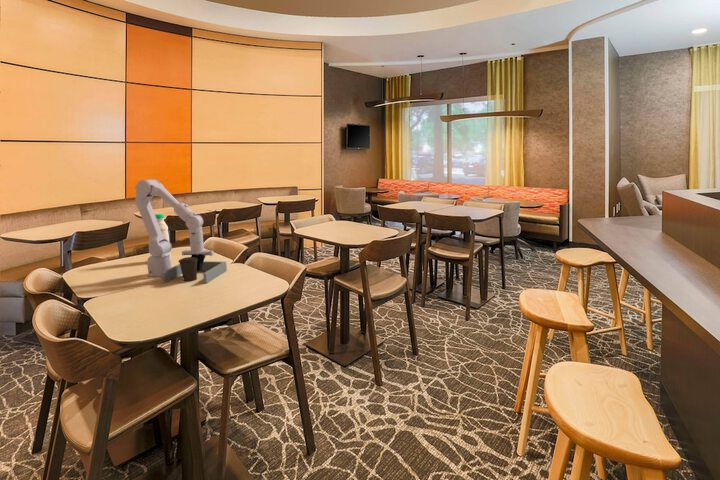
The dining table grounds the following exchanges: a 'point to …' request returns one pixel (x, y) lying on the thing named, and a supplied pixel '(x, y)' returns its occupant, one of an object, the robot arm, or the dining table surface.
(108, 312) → the dining table surface
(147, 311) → the dining table surface
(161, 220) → the water bottle
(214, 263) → the gray rectangular arch
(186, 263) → the coffee cup
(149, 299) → the dining table surface
